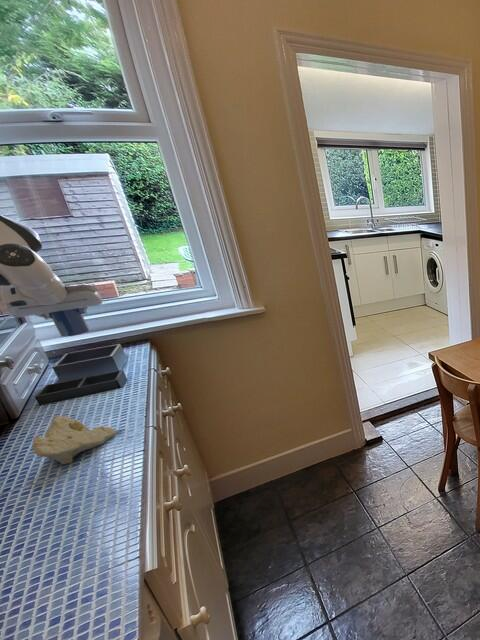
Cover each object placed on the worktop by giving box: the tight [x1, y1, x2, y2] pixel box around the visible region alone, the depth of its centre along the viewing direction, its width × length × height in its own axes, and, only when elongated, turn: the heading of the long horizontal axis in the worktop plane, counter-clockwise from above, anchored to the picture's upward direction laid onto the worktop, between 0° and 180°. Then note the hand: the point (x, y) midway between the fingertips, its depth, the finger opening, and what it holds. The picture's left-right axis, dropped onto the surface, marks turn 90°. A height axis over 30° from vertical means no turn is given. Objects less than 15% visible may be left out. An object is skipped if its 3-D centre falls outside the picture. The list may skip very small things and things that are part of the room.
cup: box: [49, 308, 90, 338], centre depth 131 cm, size 7×7×11 cm
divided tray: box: [34, 369, 128, 407], centre depth 123 cm, size 18×9×4 cm, turn 123°
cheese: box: [32, 415, 117, 465], centre depth 92 cm, size 15×7×15 cm
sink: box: [51, 343, 128, 382], centre depth 138 cm, size 14×14×6 cm
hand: (66, 314), depth 131 cm, fingers closed on cup, 7 cm apart
